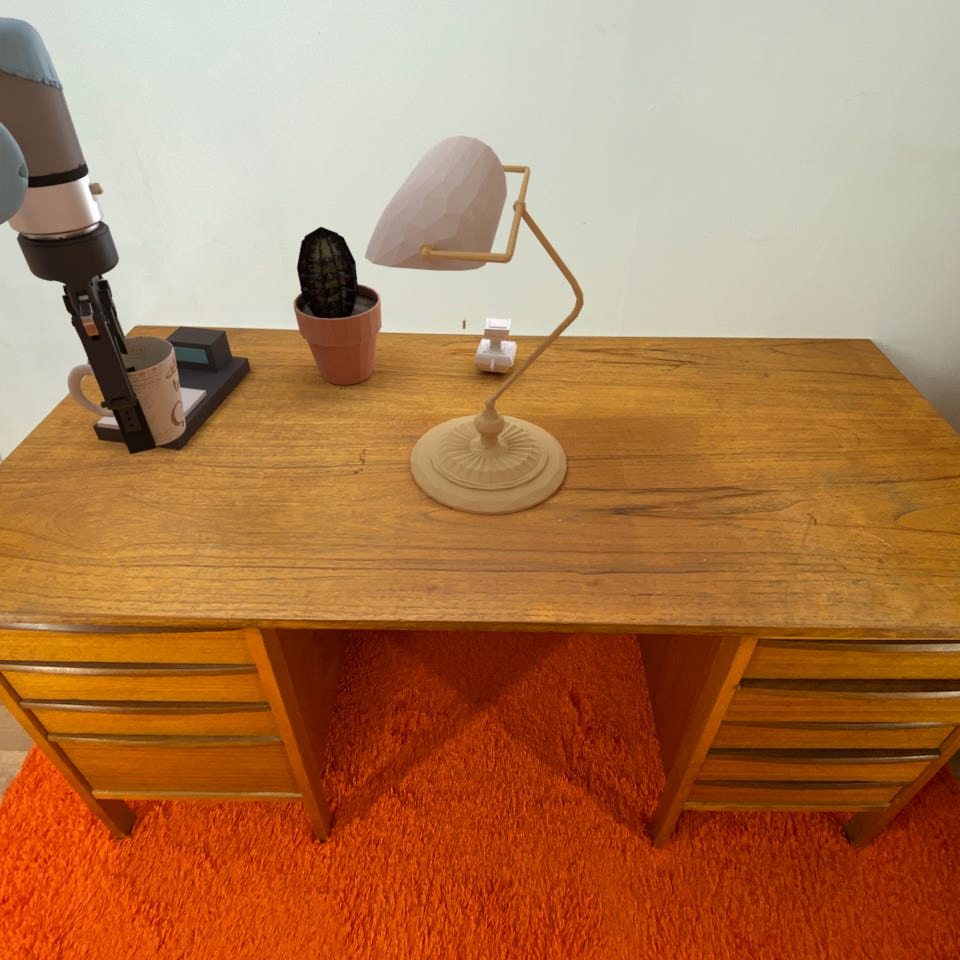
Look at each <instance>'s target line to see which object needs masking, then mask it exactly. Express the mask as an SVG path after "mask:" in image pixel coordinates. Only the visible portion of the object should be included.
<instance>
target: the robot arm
mask: <svg viewBox="0 0 960 960" xmlns="http://www.w3.org/2000/svg"><path fill="white" fill-rule="evenodd" d="M63 90H64V87H63V84H62V82H61V81H60V78H59V76H58V73H57V71H56V68H55V65H54V63H53V60H52V58H51V56H50V53H49V51H48V49H47V47H46V45H45V42H44V40H43V38H42V36H41V34H40V32H39V31H38V30H37V29H36V28H35V27H34V26H33V25H32V24H31V23H29V22H27V21H25V20H23V19H19V18H14V17H3V16H0V226H1V225H3V224H4V223H6V222H8V224H9V227H10V229H12V230H13V231H15V232H17V233H18V235H17V237H16V241H17V244H18V245H19V248H20V250H21V252H22V255H23V257H24V260H25V261H26V262H25V263H26V264H27V267H28V268H29V271H30V273H31V274H32V275H33V276H35V277H36V278H37V279H40V280H43V281H48V282H58V283H60V284H61V283H62V284H63V285H62V289H63V293H64V294H62V295H61V297H62V301H63V304H64V306H65V311H66V312H67V313H68V314H70V315H71V319H70V322H71V326H72V327H73V328H74V330H75V332H76V334H77V336H78V338H79V340H80V343H81V344H82V347H83V350H84V352H85V355H86V357H87V360H89V362H90V365H91V367H92V370H93V372H94V375H95V377H96V380H97V381H96V380H95V381H96V383H97V382H98V383H97V385H98V387H99V390H100V393H101V395H102V397H103V400H102V401H100V407H101V408H103V409H107V410H112V412H113V414H114V416H115V419H116V421H117V424H118V426H119V429H120V431H121V433H122V436H123V438H124V441H125V443H124V444H125V446H126V448H127V451H128V453H129V455H133V454H138V453H142V452H147V451H152V450H155V449H158V447H156V443H155V440H154V438H153V435H152V433H151V430H150V428H149V425H148V423H147V420H146V418H145V415H144V413H143V410H142V408H141V405H140V403H139V400H138V399H136V398H137V396H136V393H134V391H133V389H132V386H131V384H130V381H129V379H128V376H127V372H128V373H130V372H135V371H136V370H135V367H130V368H127V369H126V367H125V364H124V361H123V358H122V355H121V353H122V354H127V355H128V352H127V349H126V347H125V344H124V341H123V338H126V336H125V333H124V330H123V328H122V325H121V323H120V320H119V317H118V312H117V307H116V305H115V302H114V299H113V293H112V288H111V285H110V282H109V280H108V279H106V278H104V277H103V275H104V274H107V273H109V272H111V271H112V270H113V269H115V268H116V267H117V265H118V264H119V261H120V257H119V253H118V250H117V247H116V245H115V241H114V238H113V235H112V232H111V230H110V227H109V225H108V224H106V223H105V222H104V221H103V218H104V212H103V208H102V205H101V203H100V199H99V198H98V196H99V195H100V196H101V195H102V194H103V193H104V192H105V191H104V187H103V186H102V184H101V183H100V182H93V183H91V180H92V176H91V174H90V171H89V167H88V164H87V162H86V159H85V157H84V153H83V150H82V146H81V143H80V140H79V138H78V134H77V131H76V128H75V125H74V121H73V119H72V115H71V112H70V109H69V106H68V103H67V100H66V97H65V94H64V91H63Z"/></svg>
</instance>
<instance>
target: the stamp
mask: <svg viewBox="0 0 960 960" xmlns="http://www.w3.org/2000/svg"><path fill="white" fill-rule="evenodd" d="M511 324H512V319H508V318H495V317H494V318H493V317H492V318H491V317H486V319H485V324H484V333H483V338H481V340H480V341H479V345H478V348H477V349H476V350H477V351H476V353H475V356H474V359H473V363H474V365H475V366H476V367H477V368H478V369H480V371H481V372H490V373H491V372H492V373H501V374H506V373H507V372H508V371H510V370H511V368H512V367H513V365H514V360H515V357H516V353H517V350H518V345H517V342H516V341H513V340H512V341H511V340H506V339H507V338H509V336H510V330H511V326H512V325H511Z"/></svg>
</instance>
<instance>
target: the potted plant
mask: <svg viewBox="0 0 960 960" xmlns="http://www.w3.org/2000/svg"><path fill="white" fill-rule="evenodd" d="M296 271H297V277H298V281H299V286H300V292H301V293H299V294H298V295H297V296H295V298H294V300H293V310H294V314H295V319H296V322H297V327H298V331H299V334H300V335H301V337H303V339H304V340H305V341H307V345H308V347H309V349H310V351H311V354H312V357H313V359H314V361H315V364H316V366H317V369H318V371H319V374H320V376H321V377H322V379H323V380H324V381H326V382H328V383H330V384H334V385H336V386H337V385H338V386H349V385H355V384H359V383H361V382H363V381H366V380H367V379H369V377H370V376H372V374H373V372H374V365H375V357H376V350H377V349H376V348H377V340H378V334H379V333H380V331H381V329H382V327H383V325H382V304H381V303H382V301H381V296H380V293H379V292H377V290H375V289H374V288H372V287H370V286H368V285H364V284H360V283H359V282H358V274H357V264H356V260H355V258H354V256H353V254H352V251H351V249H350V247H349V245H348V243H347V242H346V239H345V237H344V236H342V235H340V234H339V232H336V231H333V230H331V229H328V228H326V227H323V226H319V227H318V228H316V229H314V230H313V231H311V232H309V233H307V234H306V235H304V238H303V239H301V242H300V247H299V253H298V259H297V265H296Z"/></svg>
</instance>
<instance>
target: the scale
mask: <svg viewBox="0 0 960 960" xmlns="http://www.w3.org/2000/svg"><path fill="white" fill-rule="evenodd" d="M164 340H167V341H168V342H170V343H171V345H172V346H173V349H174V352H175V358H176V364H177V371H178V377H179V384H180V390H181V396H182V403H183V409H184V416H185V423H186V428H185V431H184V432H183V434H182V435H181V436H179V437H178V438H177V439H175V440H173V441H171V442H169V443H166V444H162V445H158V446H156V447H157V448H162V449H169V450H170V449H171V450H179V451H181V449H182V448H183V447H184V446H185V445H186V444H187V443H188V442H189V441H190V440H191V438H192V437H193V436H194V435H195V434H196V432H197V431H198V430H199V429H200V428H201V427H202V426H203V425H204V424H205V422H207V420H208V419H209V418H210V417H211V416H212V414H213V413H214V412H215V411H216V410H217V409H218V408H219V407H220V406H221V405H222V403H223V402H224V401H225V400H226V399H227V397H229V395H230V394H231V393H232V392H233V391H234V390H235V388H236V387H237V386H238V385H239V384H240V383H241V382H242V381H243V379H244V378H245V377H246V376H247V375H248V374H249V373H250V372H251V370H252V369H251V366H250V361H249V358H248V357H243V356H234V355H232V351H231V347H230V343H229V340H228V336H227V332H226V330H220V329H211V328H203V327H202V328H201V327H191V326H183V325H181V326H179V327H178V328H177V329H175V330H174V331H173V332H172V333H170V334H169V335H168V336H167V337H166V338H165V339H164ZM92 429H93V431H94V432H95V435H96V437H97V439H98V440H100V441H106V442H107V441H108V442H115V443H116V442H117V443H124V444H126V443H125V441H124V438H123V436H122V433H121V431H120V429H119V426H118V424H117V421H116V419H115V417H104V416H101V418H100V419H98V420H97V422H96V423H95V424H93V425H92Z"/></svg>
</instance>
